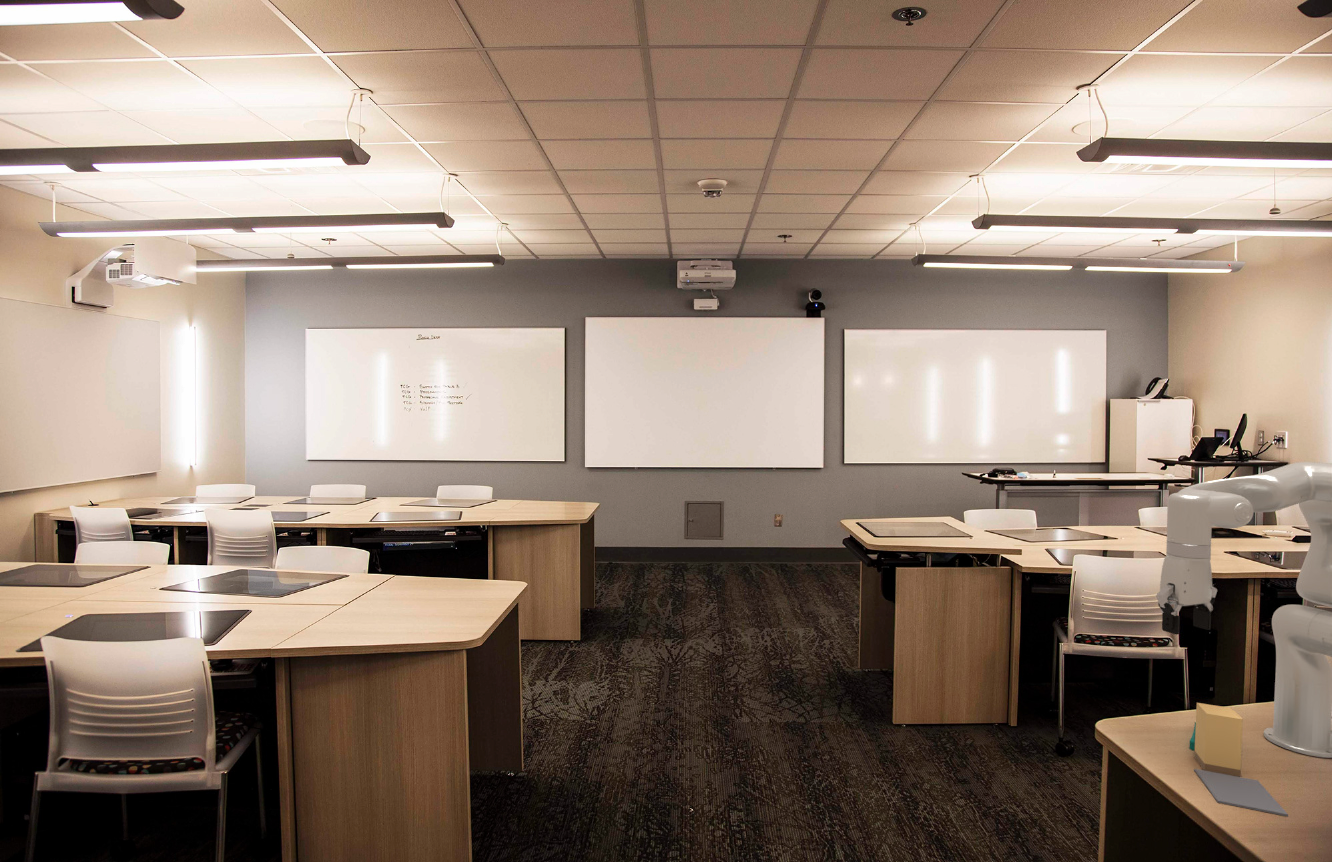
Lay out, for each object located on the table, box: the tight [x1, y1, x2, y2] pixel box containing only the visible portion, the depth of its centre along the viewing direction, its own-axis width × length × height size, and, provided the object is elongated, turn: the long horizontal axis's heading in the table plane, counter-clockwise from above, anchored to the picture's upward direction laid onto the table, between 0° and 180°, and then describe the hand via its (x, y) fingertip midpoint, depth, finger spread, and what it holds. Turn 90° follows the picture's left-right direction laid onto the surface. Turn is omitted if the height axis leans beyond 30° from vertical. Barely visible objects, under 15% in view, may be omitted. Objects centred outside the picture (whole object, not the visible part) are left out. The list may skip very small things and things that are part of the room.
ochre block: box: [1194, 702, 1244, 777], centre depth 141 cm, size 6×6×12 cm
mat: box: [1193, 768, 1289, 818], centre depth 132 cm, size 10×13×1 cm
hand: (1186, 630), depth 144 cm, fingers open, 9 cm apart
